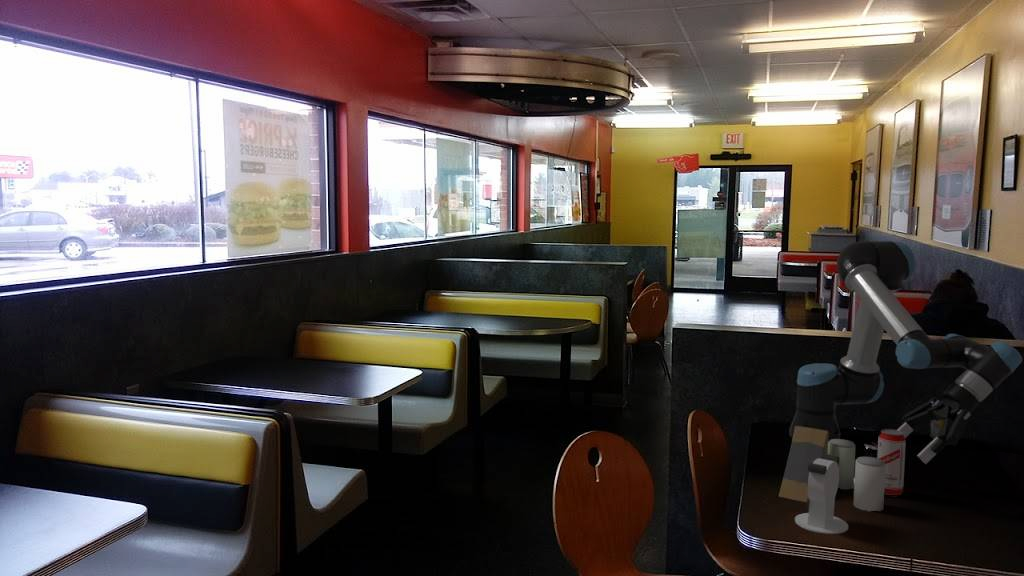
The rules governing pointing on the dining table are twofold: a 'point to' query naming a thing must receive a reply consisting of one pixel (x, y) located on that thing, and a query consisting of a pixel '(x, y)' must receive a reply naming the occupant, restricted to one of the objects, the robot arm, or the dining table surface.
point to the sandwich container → (802, 461)
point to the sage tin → (844, 461)
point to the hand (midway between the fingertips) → (905, 451)
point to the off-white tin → (869, 484)
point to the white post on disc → (822, 497)
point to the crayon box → (936, 428)
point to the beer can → (892, 459)
